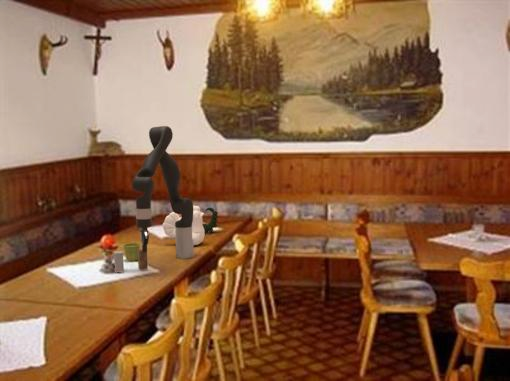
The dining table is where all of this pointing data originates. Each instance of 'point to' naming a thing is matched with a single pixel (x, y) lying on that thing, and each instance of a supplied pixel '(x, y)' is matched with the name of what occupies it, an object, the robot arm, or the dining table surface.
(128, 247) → the plant pot
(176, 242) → the robot arm
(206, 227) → the toy figurine
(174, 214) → the decorative rooster
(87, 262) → the dining table surface
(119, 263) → the slate-grey block
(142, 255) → the walnut block
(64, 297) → the dining table surface
